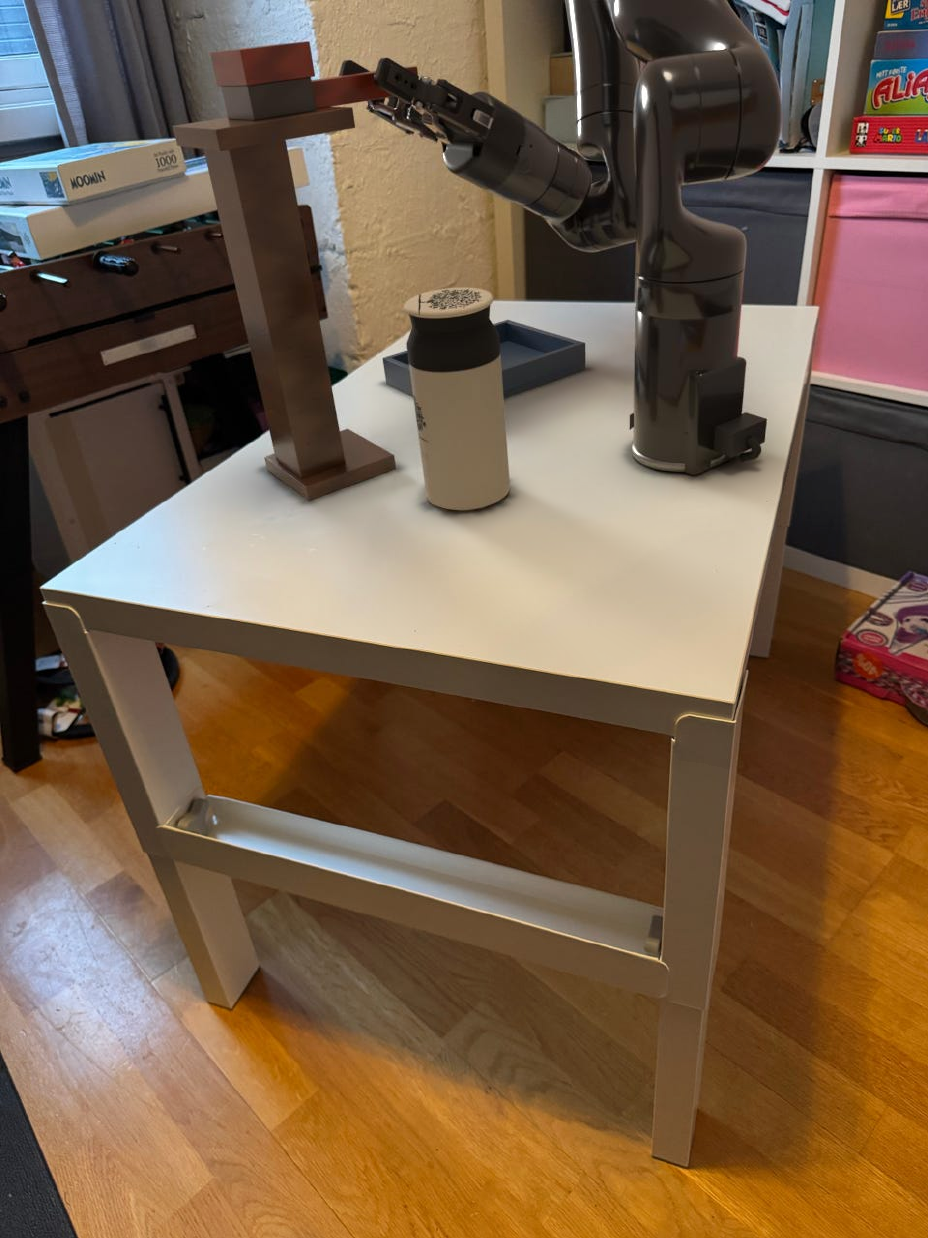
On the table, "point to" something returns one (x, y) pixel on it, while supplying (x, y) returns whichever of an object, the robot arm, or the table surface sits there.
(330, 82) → the brush
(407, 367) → the tray
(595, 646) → the table surface
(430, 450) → the travel mug
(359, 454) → the wooden pedestal stand
